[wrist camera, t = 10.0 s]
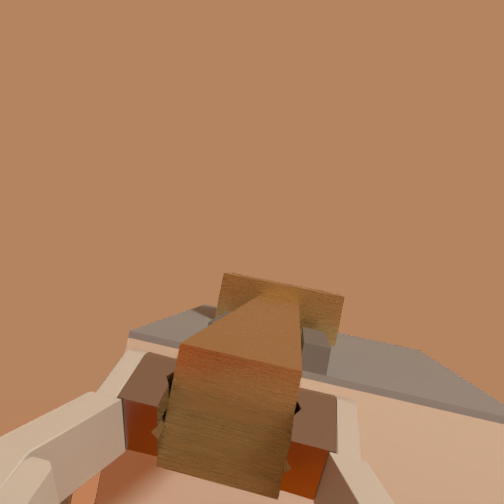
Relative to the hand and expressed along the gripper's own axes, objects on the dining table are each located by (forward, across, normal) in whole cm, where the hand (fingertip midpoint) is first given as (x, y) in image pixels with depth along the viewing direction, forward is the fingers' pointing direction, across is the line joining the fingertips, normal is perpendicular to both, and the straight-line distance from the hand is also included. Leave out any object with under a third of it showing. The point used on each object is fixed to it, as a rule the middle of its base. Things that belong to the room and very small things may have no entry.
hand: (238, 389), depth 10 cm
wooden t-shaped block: (+9, 0, -8) cm, 12 cm away
